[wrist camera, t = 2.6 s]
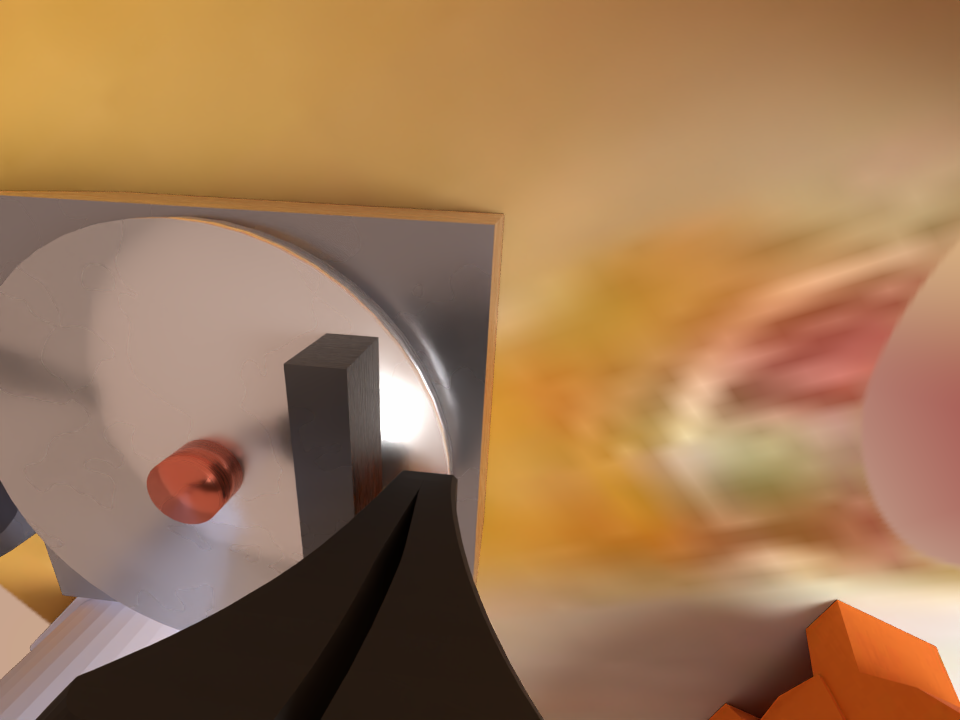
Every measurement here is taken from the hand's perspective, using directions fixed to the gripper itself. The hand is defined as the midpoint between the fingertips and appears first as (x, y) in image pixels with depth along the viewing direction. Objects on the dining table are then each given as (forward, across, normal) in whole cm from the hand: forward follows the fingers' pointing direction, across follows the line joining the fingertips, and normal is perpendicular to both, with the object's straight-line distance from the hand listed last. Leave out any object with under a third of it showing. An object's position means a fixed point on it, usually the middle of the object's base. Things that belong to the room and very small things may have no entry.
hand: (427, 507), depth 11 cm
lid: (+1, +6, 0) cm, 6 cm away
